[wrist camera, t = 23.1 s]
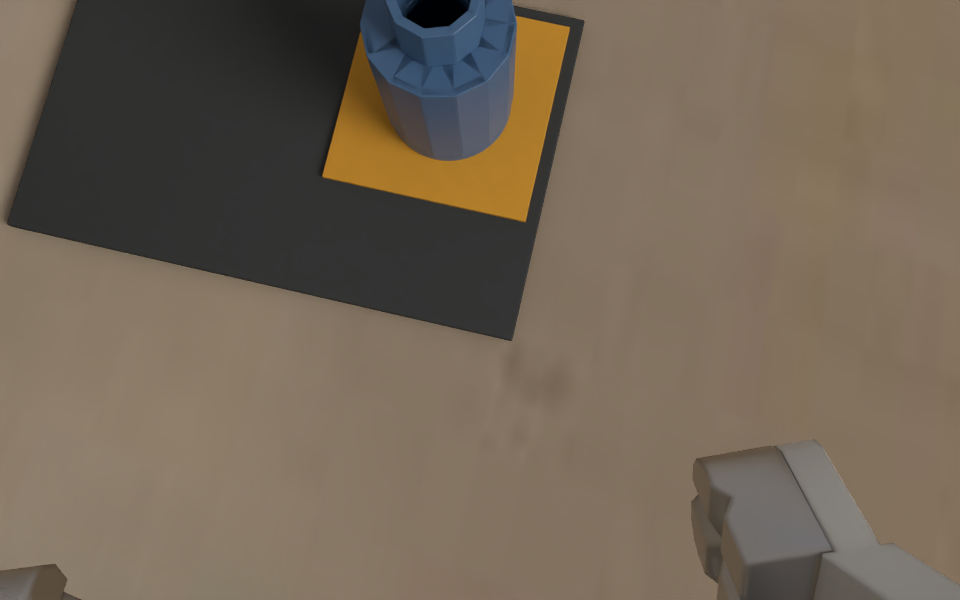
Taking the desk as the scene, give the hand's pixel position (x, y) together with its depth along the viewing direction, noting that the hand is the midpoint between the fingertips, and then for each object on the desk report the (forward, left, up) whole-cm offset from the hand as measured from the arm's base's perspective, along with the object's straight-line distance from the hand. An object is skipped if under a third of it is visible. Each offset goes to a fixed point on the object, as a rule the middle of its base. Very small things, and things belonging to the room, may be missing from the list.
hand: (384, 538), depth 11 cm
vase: (-3, +13, -20) cm, 24 cm away
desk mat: (-9, +11, -21) cm, 25 cm away
